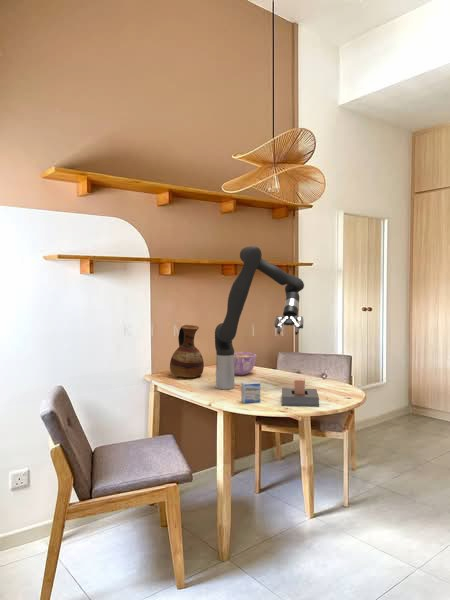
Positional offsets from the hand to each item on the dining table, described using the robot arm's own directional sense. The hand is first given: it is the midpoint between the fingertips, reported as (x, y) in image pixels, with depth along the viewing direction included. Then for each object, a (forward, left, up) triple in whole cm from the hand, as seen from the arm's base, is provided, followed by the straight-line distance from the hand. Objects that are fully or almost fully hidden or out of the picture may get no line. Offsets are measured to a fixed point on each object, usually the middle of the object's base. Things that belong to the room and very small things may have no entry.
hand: (287, 333), depth 224 cm
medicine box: (-17, -23, -29) cm, 40 cm away
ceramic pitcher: (-58, +29, -29) cm, 71 cm away
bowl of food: (-28, +39, -29) cm, 56 cm away
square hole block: (+5, -20, -29) cm, 35 cm away
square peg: (+5, -20, -28) cm, 34 cm away
